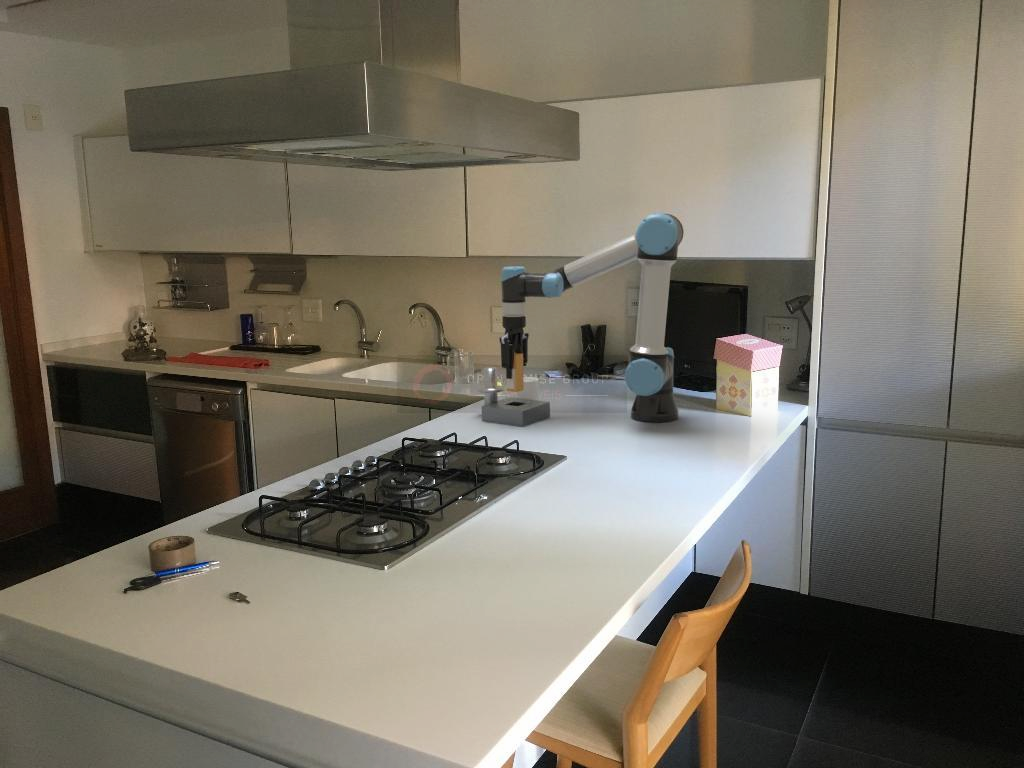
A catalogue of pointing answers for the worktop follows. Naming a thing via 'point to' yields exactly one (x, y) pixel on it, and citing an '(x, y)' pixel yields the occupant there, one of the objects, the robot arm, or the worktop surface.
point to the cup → (527, 389)
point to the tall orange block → (517, 373)
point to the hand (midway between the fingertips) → (515, 387)
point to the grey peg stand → (509, 405)
